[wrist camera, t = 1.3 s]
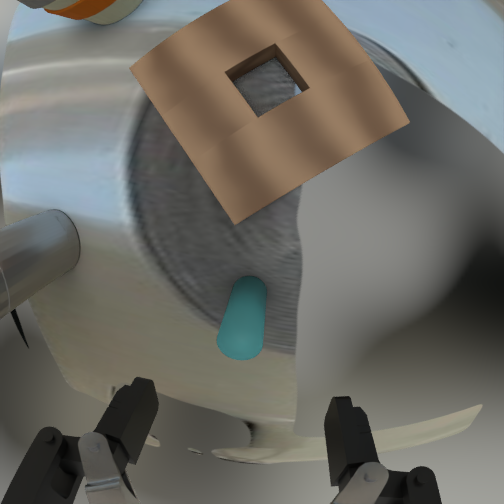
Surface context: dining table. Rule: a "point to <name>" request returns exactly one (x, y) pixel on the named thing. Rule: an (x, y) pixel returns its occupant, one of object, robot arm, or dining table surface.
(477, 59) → the dining table surface
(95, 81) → the dining table surface
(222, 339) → the peg
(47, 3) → the reusable coffee cup
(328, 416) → the robot arm
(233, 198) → the socket block
